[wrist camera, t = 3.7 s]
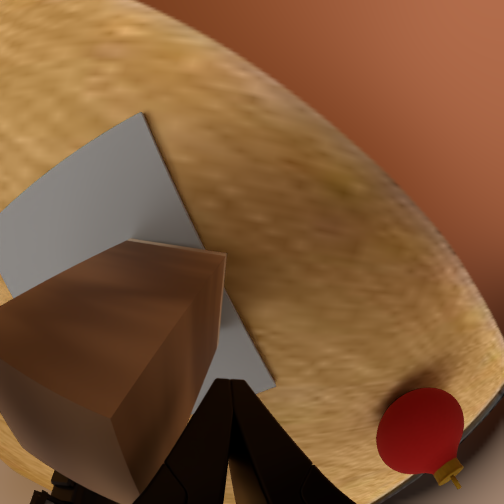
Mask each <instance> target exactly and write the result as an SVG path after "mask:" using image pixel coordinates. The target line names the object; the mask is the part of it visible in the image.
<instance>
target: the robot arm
mask: <svg viewBox="0 0 504 504" xmlns="http://www.w3.org/2000/svg"><path fill="white" fill-rule="evenodd" d="M228 462H229V468H230V474H231V479H232V485H233V490H234V496H235V501H236V504H356V503H355V502H354V501H352V500H351V499H350V498H348V497H347V496H346V495H345V494H344V493H342V492H341V491H340V490H339V489H338V488H336V487H335V486H334V485H333V484H332V483H331V482H330V481H329V480H328V479H327V478H326V477H325V476H324V475H323V474H322V473H321V471H320V470H319V469H318V468H317V467H316V466H315V465H312V464H313V463H312V462H311V460H310V459H309V458H308V457H307V456H306V455H305V454H304V453H303V451H302V450H301V449H300V448H299V447H298V446H297V444H296V443H295V442H294V441H293V440H292V439H291V437H290V436H289V435H288V434H287V433H286V431H285V430H284V429H283V428H282V427H281V425H280V424H279V423H278V422H277V420H276V419H275V418H274V417H273V416H272V414H271V413H270V412H269V411H268V409H267V408H266V407H265V405H264V404H263V403H262V402H261V400H260V399H259V398H258V397H257V395H256V394H255V393H254V391H253V390H252V389H251V387H250V386H249V385H248V383H247V382H246V381H245V380H243V379H226V378H216V379H215V380H214V381H213V383H212V385H211V386H210V388H209V390H208V391H207V393H206V395H205V396H204V398H203V400H202V401H201V403H200V404H199V406H198V408H197V409H196V411H195V413H194V414H193V416H192V418H191V419H190V421H189V422H188V424H187V426H186V427H185V429H184V430H183V432H182V434H181V435H180V437H179V438H178V440H177V442H176V443H175V445H174V446H173V448H172V450H171V451H170V453H169V454H168V456H167V457H166V459H165V461H164V463H163V464H162V465H161V466H160V468H159V470H158V471H157V473H156V474H155V476H154V477H153V478H152V480H151V481H150V483H149V484H148V485H147V487H146V488H145V489H144V490H143V492H142V493H141V494H140V495H139V496H138V497H137V499H136V500H135V501H134V502H133V503H132V504H223V501H224V493H225V485H226V476H227V468H228ZM51 483H52V484H53V485H54V487H53V490H52V493H51V495H49V494H48V493H47V492H46V491H44V490H42V492H39V491H36V490H34V493H33V496H32V499H31V502H30V504H120V503H118V502H115V501H113V500H111V499H108V498H106V497H104V496H102V495H100V494H98V493H96V492H94V491H92V490H90V489H88V488H86V487H84V486H82V485H80V484H78V483H76V482H75V481H73V480H71V479H69V478H68V477H66V476H64V475H62V474H61V473H59V472H57V471H56V470H54V473H53V476H52V479H51Z"/></svg>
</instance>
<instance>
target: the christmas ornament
mask: <svg viewBox="0 0 504 504" xmlns="http://www.w3.org/2000/svg"><path fill="white" fill-rule="evenodd" d="M463 429H464V417H463V412H462V409H461V407H460V405H459V403H458V401H457V400H456V399H455V398H454V397H453V396H452V395H451V394H449V393H448V392H446V391H444V390H441V389H437V388H420V389H416V390H413V391H410V392H408V393H406V394H404V395H403V396H401V397H400V398H398V399H397V400H396V401H395V402H393V403H392V404H391V406H390V407H389V408H388V409H387V410H386V412H385V413H384V415H383V417H382V419H381V421H380V423H379V426H378V430H377V436H376V443H377V449H378V452H379V455H380V457H381V458H382V460H383V461H384V462H385V464H386V465H388V466H389V467H390V468H392V469H393V470H395V471H398V472H401V473H405V474H420V473H430V474H433V475H434V477H435V479H436V480H437V482H438V484H439V485H443V484H445V483H446V482H448V481H449V480H452V481H453V483H454V484H455V486H456V487H457V489H460V488H461V485H460V484H459V483H458V480H457V479H456V477H455V476H456V475H457V474H458V473H459V472H460V471H461V470H462V469H463V466H462V465H461V464H460V462H459V461H458V459H457V458H456V455H457V448H458V445H459V442H460V440H461V437H462V434H463Z"/></svg>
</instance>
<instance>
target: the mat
mask: <svg viewBox="0 0 504 504" xmlns="http://www.w3.org/2000/svg"><path fill="white" fill-rule="evenodd" d="M131 238H132V239H138V240H145V241H151V242H157V243H164V244H170V245H177V246H183V247H190V248H196V249H203V250H205V248H204V246H203V244H202V242H201V240H200V238H199V236H198V234H197V232H196V229H195V227H194V225H193V223H192V221H191V219H190V217H189V215H188V213H187V211H186V208H185V206H184V204H183V202H182V200H181V198H180V196H179V193H178V191H177V189H176V187H175V185H174V183H173V180H172V178H171V176H170V174H169V172H168V169H167V167H166V165H165V163H164V160H163V158H162V156H161V154H160V151H159V149H158V147H157V145H156V142H155V140H154V138H153V135H152V133H151V131H150V128H149V126H148V124H147V121H146V119H145V117H144V114H143V113H142V112H140V113H138V114H136V115H134V116H132V117H130V118H129V119H127V120H125V121H123V122H122V123H120V124H118V125H116V126H115V127H113V128H111V129H110V130H108V131H106V132H105V133H103V134H102V135H100V136H98V137H97V138H95V139H94V140H92V141H91V142H89V143H87V144H86V145H84V146H83V147H81V148H80V149H79V150H77V151H76V152H74V153H73V154H71V155H70V156H68V157H67V158H66V159H64V160H63V161H62V162H60V163H59V164H57V165H56V166H55V167H53V168H52V169H51V170H50V171H48V172H47V173H46V174H44V175H43V176H42V177H41V178H39V179H38V180H37V181H36V182H34V183H33V184H32V185H31V186H30V187H28V188H27V189H26V190H25V191H24V192H23V193H21V194H20V195H19V196H18V197H17V198H16V199H15V200H14V201H12V202H11V203H10V204H9V205H8V206H7V207H6V208H5V209H4V210H3V211H2V212H1V213H0V274H1V276H2V278H3V280H4V282H5V284H6V285H7V287H8V289H9V291H10V293H11V295H12V297H13V298H15V297H17V296H19V295H20V294H22V293H24V292H26V291H28V290H29V289H31V288H33V287H35V286H37V285H38V284H40V283H42V282H44V281H46V280H48V279H50V278H52V277H53V276H55V275H57V274H59V273H61V272H63V271H65V270H67V269H69V268H71V267H73V266H75V265H77V264H79V263H81V262H83V261H85V260H87V259H89V258H91V257H93V256H95V255H97V254H99V253H101V252H103V251H105V250H107V249H109V248H111V247H113V246H116V245H118V244H120V243H122V242H124V241H126V240H128V239H131ZM216 378H226V379H243V380H245V381H246V382H247V383H248V385H249V386H250V387H251V389H252V390H253V391H254V393H255V394H257V393H260V392H262V391H265V390H268V389H270V388H273V387H276V384H275V381H274V379H273V378H272V376H271V374H270V372H269V371H268V369H267V367H266V365H265V363H264V362H263V360H262V358H261V356H260V354H259V352H258V351H257V349H256V347H255V345H254V343H253V341H252V339H251V338H250V336H249V334H248V332H247V330H246V328H245V326H244V324H243V323H242V321H241V319H240V317H239V315H238V313H237V311H236V309H235V307H234V305H233V304H232V302H231V300H230V298H229V296H228V294H227V292H226V290H225V288H224V289H223V300H222V311H221V322H220V334H219V344H218V347H217V350H216V352H215V355H214V357H213V360H212V362H211V365H210V367H209V370H208V372H207V375H206V377H205V380H204V382H203V385H202V387H201V390H200V392H199V395H198V397H197V400H196V402H195V405H194V407H193V410H192V412H191V414H194V413H195V411H196V409H197V408H198V406H199V404H200V403H201V401H202V400H203V398H204V396H205V395H206V393H207V391H208V390H209V388H210V386H211V385H212V383H213V381H214V380H215V379H216Z"/></svg>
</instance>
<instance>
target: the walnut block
mask: <svg viewBox="0 0 504 504" xmlns="http://www.w3.org/2000/svg"><path fill="white" fill-rule="evenodd" d="M226 259H227V253H222V252H216V251H209V250H203V249H196V248H190V247H183V246H177V245H170V244H164V243H157V242H151V241H145V240H138V239H132V238H131V239H128V240H126V241H124V242H122V243H120V244H118V245H116V246H113V247H111V248H109V249H107V250H105V251H103V252H101V253H99V254H97V255H95V256H93V257H91V258H89V259H87V260H85V261H83V262H81V263H79V264H77V265H75V266H73V267H71V268H69V269H67V270H65V271H63V272H61V273H59V274H57V275H55V276H53V277H52V278H50V279H48V280H46V281H44V282H42V283H40V284H38V285H37V286H35V287H33V288H31V289H29V290H28V291H26V292H24V293H22V294H20V295H19V296H17V297H15V298H13V299H12V300H10V301H8V302H7V303H5V304H3V305H1V306H0V413H1V414H2V416H3V418H4V420H5V421H6V423H7V425H8V426H9V428H10V429H11V431H12V432H13V434H14V436H15V437H16V439H17V440H18V442H19V443H20V445H21V446H22V447H23V449H25V450H26V451H28V452H29V453H30V454H32V455H33V456H35V457H36V458H37V459H39V460H40V461H42V462H43V463H45V464H46V465H48V466H49V467H51V468H53V469H54V470H56V471H57V472H59V473H61V474H62V475H64V476H66V477H68V478H69V479H71V480H73V481H75V482H76V483H78V484H80V485H82V486H84V487H86V488H88V489H90V490H92V491H94V492H96V493H98V494H100V495H102V496H104V497H106V498H108V499H111V500H113V501H115V502H118V503H120V504H132V503H133V502H134V501H135V500H136V499H137V497H138V496H139V495H140V494H141V493H142V492H143V490H144V489H145V488H146V487H147V485H148V484H149V483H150V481H151V480H152V478H153V477H154V476H155V474H156V473H157V471H158V470H159V468H160V466H161V465H162V464H163V463H164V461H165V459H166V457H167V456H168V454H169V453H170V451H171V450H172V448H173V446H174V445H175V443H176V442H177V440H178V438H179V437H180V435H181V434H182V432H183V430H184V429H185V427H186V425H187V422H188V420H189V417H190V415H191V412H192V410H193V407H194V405H195V402H196V400H197V397H198V395H199V392H200V390H201V387H202V385H203V382H204V380H205V377H206V375H207V372H208V370H209V367H210V365H211V362H212V360H213V357H214V355H215V352H216V350H217V347H218V344H219V334H220V322H221V311H222V300H223V289H224V279H225V269H226Z"/></svg>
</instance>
